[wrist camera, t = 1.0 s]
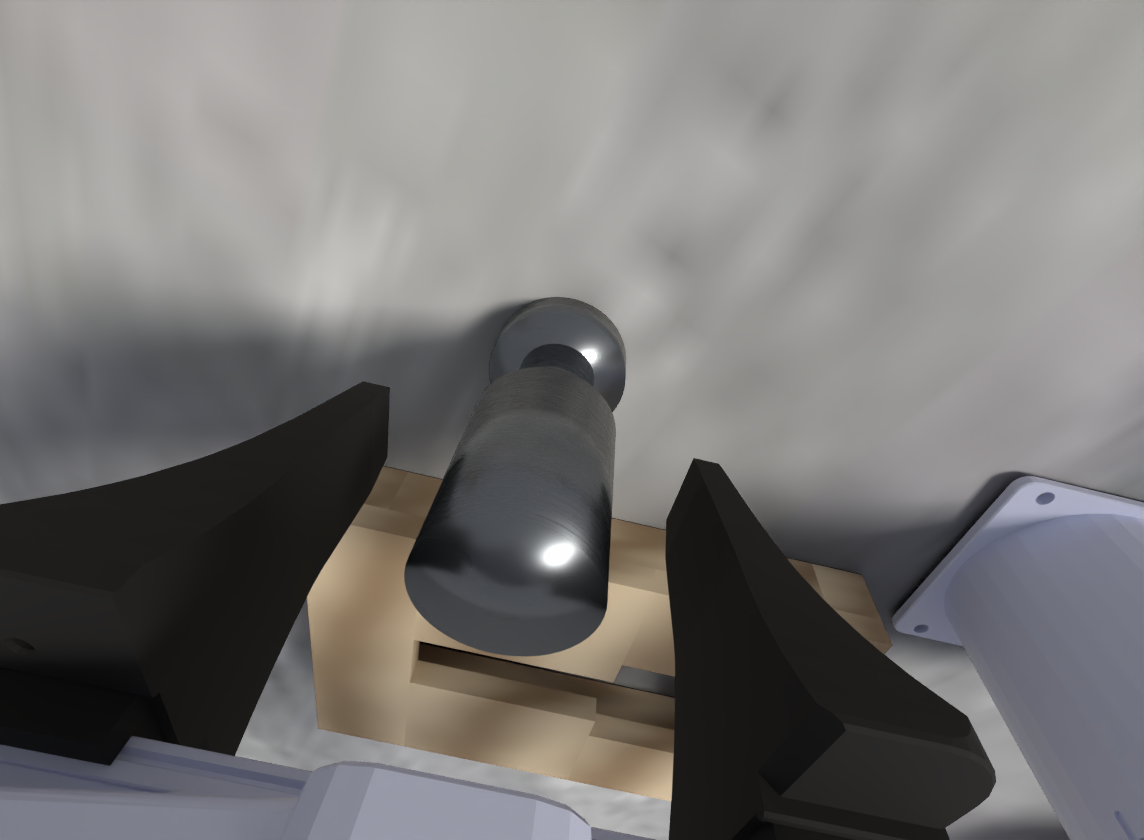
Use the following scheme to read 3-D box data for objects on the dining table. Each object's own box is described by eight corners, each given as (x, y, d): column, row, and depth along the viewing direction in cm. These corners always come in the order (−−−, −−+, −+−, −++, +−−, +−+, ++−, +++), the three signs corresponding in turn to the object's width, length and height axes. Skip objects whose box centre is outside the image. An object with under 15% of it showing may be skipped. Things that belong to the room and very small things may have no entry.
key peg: (641, 316, 16) (648, 542, 9) (607, 424, 18) (589, 680, 11) (507, 283, 16) (396, 486, 9) (489, 397, 18) (389, 637, 11)
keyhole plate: (862, 575, 21) (892, 645, 19) (726, 748, 29) (735, 814, 26) (340, 456, 20) (300, 513, 18) (346, 668, 28) (318, 728, 26)
